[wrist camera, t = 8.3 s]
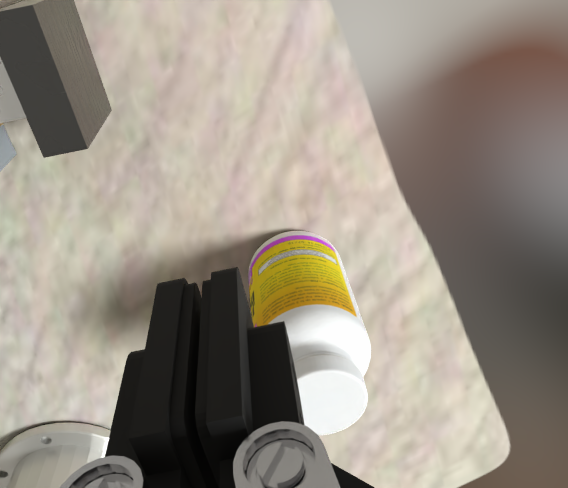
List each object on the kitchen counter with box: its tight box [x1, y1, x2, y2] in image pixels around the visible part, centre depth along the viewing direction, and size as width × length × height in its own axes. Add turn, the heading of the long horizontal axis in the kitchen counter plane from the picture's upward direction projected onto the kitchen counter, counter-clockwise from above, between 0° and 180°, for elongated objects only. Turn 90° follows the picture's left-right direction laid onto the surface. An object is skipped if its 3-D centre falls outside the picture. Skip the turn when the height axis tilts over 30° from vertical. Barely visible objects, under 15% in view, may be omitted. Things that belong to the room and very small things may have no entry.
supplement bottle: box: [248, 231, 371, 435], centre depth 33 cm, size 7×7×13 cm
